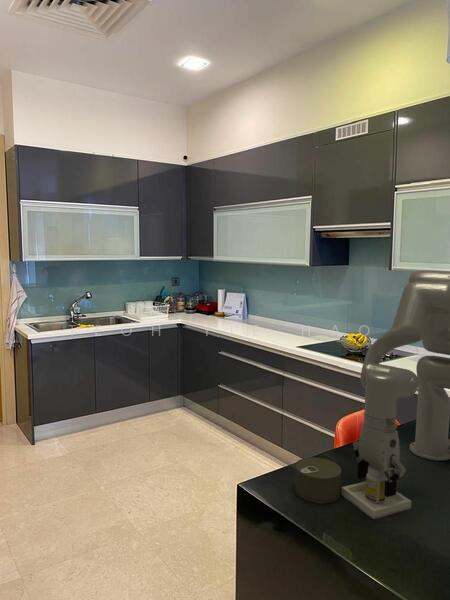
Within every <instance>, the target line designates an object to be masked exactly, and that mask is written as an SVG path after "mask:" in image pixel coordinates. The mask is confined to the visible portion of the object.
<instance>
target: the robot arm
mask: <svg viewBox="0 0 450 600" xmlns="http://www.w3.org/2000/svg"><path fill="white" fill-rule="evenodd" d="M395 313H396V314H395V317H394V320H393V324H392V326H391V328H390V329H389V330H387V331H386V332H385V333H383V334H381V335H380V336H379V337H378V338H377V339H376V340H375V341H374V342H373V343H371V345H370V347H369V348H368V350H367V351H366V354H365V357H364V360H363V363H362V367H361V371H360V383H361V385H362V386H363V388H364V389H365V391H364V394H365V395H364V410H363V411H364V412H363V422H362V425H361V428H360V435H359V439H358V440H357V441H353V442H352V445H353V449H354V455H355V457H356V462H357V474H356V475H357V476H356V477H357V479H364V478H366V475H367V473H368V466H369V465H371V464H372V465H373V466H375V467H377V468H378V469H380V470H382V471H384V473H385V474H384V475H385V477H386V481H385V492H384V495H385V496H386V497H389V496H393V495H396V491H397V483H398V481H400V480H401V479H402V478H403V477H404V475H405V473H406V472H407V471H406V468H405V467H404V465H403V464H402V463H401V462H400V459H401V458H400V457H401V456H400V452H401V451H400V450H401V449H400V439H399V434H398V430H397V428H398V424H397V423H396V422H397V421H396V419H397V401H398V400H402V399H403V400H404V399H408V398H409V399H410V398H411V397H412V396H414V395H415V393H416V392H417V405H416V420H415V421H416V422H415V438H414V441H413V442H411V443H410V444H409V450H410V453H412V454H414V455H415V456H417V457H420V458H423V459H426V460H431V461H438V462H439V461H441V462H442V461H448V460H450V438H449V433H450V432H449V428H450V396H449V394H448V393H447V391H446V390H447V389H448V390H450V357H445V356H439V355H424V356H422V357H420V358H419V359H418V361H417V363H416V373H415V372H413V371H412V370H410V369H407V368H402V367H397V366H392V365H388V364H383V363H382V364H381V361H382V358H383V357H384V356H385V355H386V354H387V353H388V352H390V351H393V350H394V349H397V348H400V347H404V346H407V345H410V344H415V343H419V342H420V341H422V347H423V348H424V350H425V351H427V352H431V353H434V354H440V355H446V356H450V271H448V270H447V271H446V270H445V271H443V270H418V271H415V272H413V273H410V275H409V278H408V284H406V285H405V286H404V288H403V290H402V294H401V296H400V300H399V304H398V307H397V310H396V312H395ZM390 472H391V474H390Z"/></svg>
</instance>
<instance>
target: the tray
mask: <svg viewBox="0 0 450 600" xmlns="http://www.w3.org/2000/svg"><path fill="white" fill-rule="evenodd" d="M340 492H341V493H340V495H341V496H342V497H343V498H345V500H347V501H349V502H350V503H351V504H352V505H354V506H355V507H356V508H358V509H359V510H360V511H361V512H362V513H364V514H366V515H367V516H368V517H370V518H371V519H372V520H377V519H378V520H379V519H380V518H383V517H388V516H392V515H394V514H398V513H402V512H405V511H408V510H411V509H412V500H411V499H410V498H407V497H406V496H405V495H403V494H402V493H400V492H398V491H397V490H396V495H393V496H389V497H386V496H385V501H384V502H383V503H372V502H370V501H368V500H367V499H366V481H361V482H358V483H354V484H349V485H345V486H342V487H341V486H340Z"/></svg>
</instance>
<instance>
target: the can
mask: <svg viewBox="0 0 450 600" xmlns="http://www.w3.org/2000/svg"><path fill="white" fill-rule="evenodd" d="M294 468H295V493H296V494H297V495H298V496H299V497H300V498H301V499H303V500H305V501H308V502H311V503H315V504H330V503H333V502H336V501H337V500H338V499H339V498H340V495H341V493H340V492H341V475H342V473H343V472H342V468H341V466H340V465H339V464H338V463H337V462H335V461H333V460H331V459H327V458H324V457H319V456H317V457H316V456H315V457H314V456H311V457H309V456H308V457H303V458H300V459H298V460H297V461H296V462H295V467H294Z"/></svg>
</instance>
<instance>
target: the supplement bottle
mask: <svg viewBox="0 0 450 600" xmlns="http://www.w3.org/2000/svg"><path fill="white" fill-rule="evenodd" d="M365 478H366V479H365V482H366V499H367V500H368V501H370V502H372V503H383V502H384V501H385V495H384V492H385V481H386V480H387V478H386V476H385V473H384V471H382V470H380V469H378V468H377V467H375V466H373V465H372V464H369V466H368V473H367V475H366V477H365Z"/></svg>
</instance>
